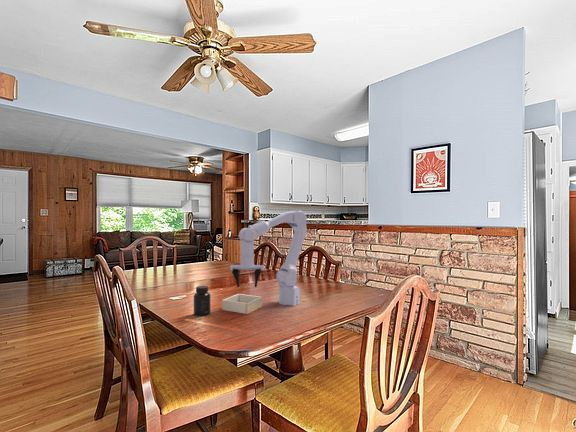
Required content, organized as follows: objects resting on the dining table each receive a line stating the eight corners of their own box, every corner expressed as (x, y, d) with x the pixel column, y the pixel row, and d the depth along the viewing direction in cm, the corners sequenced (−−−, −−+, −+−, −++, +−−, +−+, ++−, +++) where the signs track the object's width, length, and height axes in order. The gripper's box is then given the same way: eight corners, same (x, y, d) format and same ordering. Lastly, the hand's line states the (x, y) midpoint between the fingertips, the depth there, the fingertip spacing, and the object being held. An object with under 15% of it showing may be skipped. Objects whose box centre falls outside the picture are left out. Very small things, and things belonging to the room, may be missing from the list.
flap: (262, 306, 139) (262, 297, 139) (247, 313, 129) (247, 303, 129) (261, 306, 140) (261, 296, 140) (246, 313, 129) (246, 303, 129)
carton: (260, 307, 140) (260, 296, 140) (245, 315, 129) (245, 303, 129) (238, 304, 145) (238, 293, 145) (222, 311, 135) (222, 299, 135)
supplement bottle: (190, 315, 129) (190, 286, 129) (205, 312, 134) (205, 284, 134) (198, 319, 124) (198, 289, 124) (213, 315, 129) (213, 286, 129)
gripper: (264, 254, 140) (264, 284, 140) (232, 254, 140) (232, 284, 141) (262, 256, 133) (262, 288, 133) (229, 256, 133) (229, 288, 133)
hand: (247, 286), depth 136 cm, fingers open, 7 cm apart
